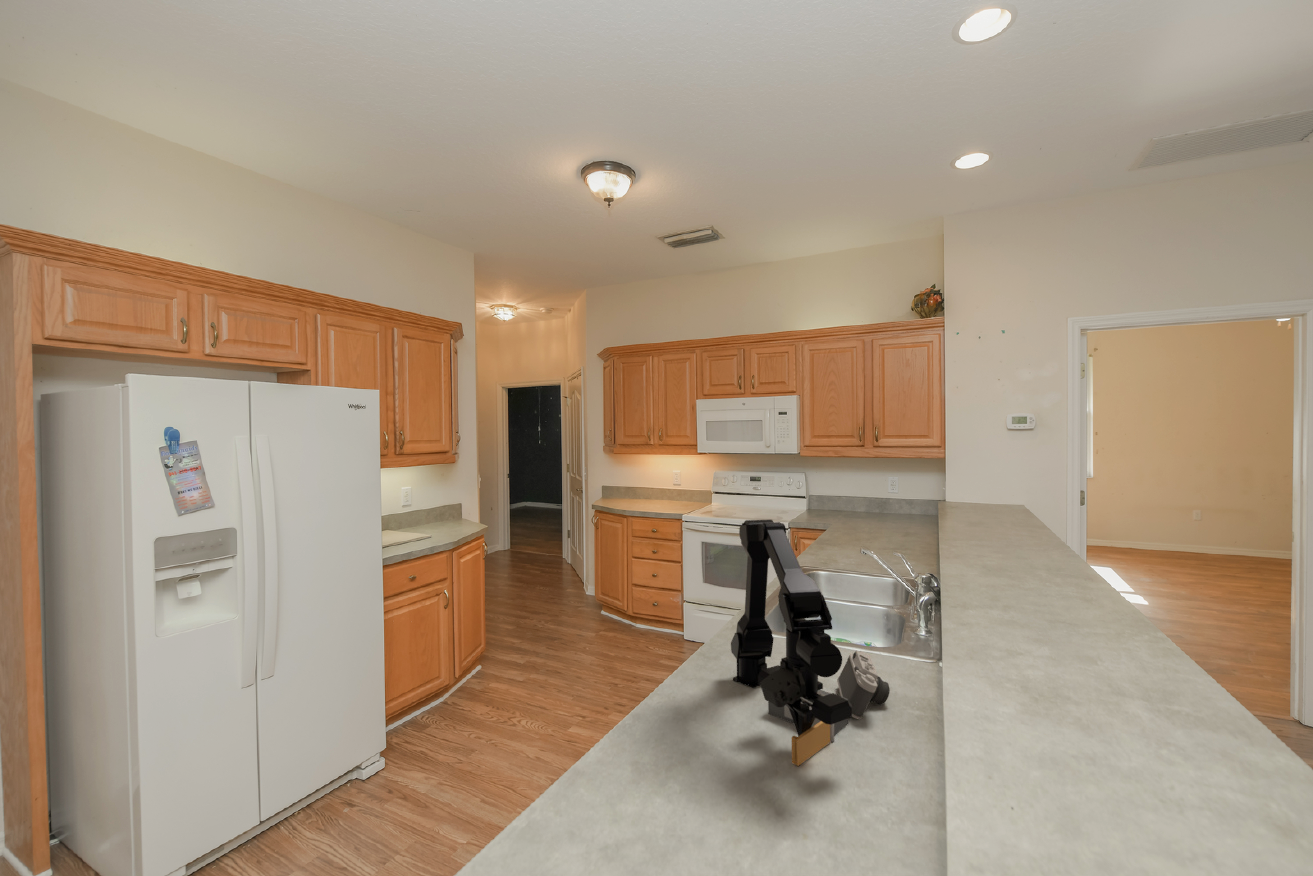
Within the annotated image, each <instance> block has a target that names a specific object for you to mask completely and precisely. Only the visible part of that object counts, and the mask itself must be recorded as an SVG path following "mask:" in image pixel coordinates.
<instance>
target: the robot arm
mask: <svg viewBox="0 0 1313 876" xmlns="http://www.w3.org/2000/svg"><path fill="white" fill-rule="evenodd" d="M738 531H739V533H738V534H739V538H740V541H741V542H740V543H741V546H742V548H743V549H744V551H745V553H746V555H747V559H746V561H747V563H746V578H745V579H746V580H745V597H744V598H745V600H744V601H745V602H744V603H745V604H744V614H743V615H742V616H741V617H740V619H739V620H738V621H737V623H736V632H734V634H733V636H732V639H731V642H730V651H731V654H732V655H733V657H735V659H736V676H734V677H732V681H734V682H737V683H739V684H741V685H744V686H747V687H750V688H753V689H756V688H758V687H759V686H760V688H761V691H762V694H763V698H764V700H765V701H766V702H768V701H769V702H771V703H773V704H774V705H775V706H776V707H783V706H785V705H786V706H787V707H788V708H789V710H790V713H791V716H792V718H793V721H794V724H793V725H794V727H795V731H796V734H797V737H798V736H800V735H801V734H803V733H804V732H806V731H807V730H808V729H810V728H811V726H812V724H813V722H814V720H815V718H817V719H818V720H820V721H822V722H824V723H825V724H830V725H831V724H834V723H837V722H840V721H842V720H845V719H848V720H849V719H851V718H853V717H852V705H851V703H850V702H849V701H848V700H846V699H844V698H842V697H841V695H838V694H836V693H833V692H832V693H831V692H830V693H831V694H828V695H824V694H822V693H820V692H818V690H823V689H824V683H823V682H821V681H819V677H822V678H829V677H833V676H834V675H836V674H837V673H838V672H839V671H840V669H841V667H842V665H843V664H842V663H843V655H842V653H841V651H840V649H839V647H837V645H835V644H834V643H833V642H832V640H831V639H832V637H831V635H830V634H828V633H826V632H825V631H826V630H827V631H829V630H833V625H832V624H833V623H832V620H833V618H832V615H831V612H830V610H829V607H828V605H827V604H828V603H827V601H826V599H825V596H824V594H823V593H822V592H821V590H820V588H819V586H818V585H817V583H816V581H815V580H814V579H813V578H811V577H810V576H808V575H807V574H806V573H804V570H802V568H801V565H800V563H799V560H798V558H797V556H796V554H795V552H794V550H793V547H792V545H791V542H790V541H789V538H788V536H787V529H786V526H785V524H784V523H782V522H781V521H780V522H779V521H777V522H776V521H773V519H746V520H744V522H742V523H741V525H740V526H739V530H738ZM769 560H770V561H771V563H772V564H771V565H772V567H773V569H774V572H775V575H776V577H777V579H778V582H779V585H780V588H779V592H778V595H777V596H778V606H779V610H780V613H781V615H782V618H783V622H784V623H785V657H782V658H781V659H780V662H779V664H778V665H774V666H771V667H768V663H766V662H767V661H766V659H767V658H771V657H772V653H773V645H774V636H773V631H772V629H771V627H770V625H769V624H768V621H767V620H766V607H767V606H766V604H767V589H768V573H769V572H768V570H769V568H768V567H769ZM819 617H820V619H819ZM814 618H815V619H814ZM817 618H818V619H817Z"/></svg>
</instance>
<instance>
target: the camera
mask: <svg viewBox="0 0 1313 876" xmlns="http://www.w3.org/2000/svg"><path fill="white" fill-rule="evenodd" d="M836 682H837V686H838V689H839V690H838V691H839V695H840V697H843V698H846V699H848V701H849V702H850V703H851V705H852V717H851V718H854V719H857V720H862V719H863V715H864V713H865V712H866V709H867V708H868V705H869V703H871V704H872V703H876V704H877V705H879V706H882V705H884V704H885V703H886V702H887V700H888V698H889V696H890V691H891V690H890V684H889V683H888V682H887V681H884V680H883V679H882V678H881V676H879V675H878V672H877V671H876V668H875V666H874V662H873V660H872V658H871V655H869V654H867V653H865V652H864V651H863V650H857V649H856V650H855V651H854V652H852V653H851V652H850V653H849V656H848V657H847V660H846V662H845V664H844V666H843V669H842V670H841V672H840V675H839V676H838V678H837V680H836Z"/></svg>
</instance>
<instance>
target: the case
mask: <svg viewBox="0 0 1313 876" xmlns="http://www.w3.org/2000/svg"><path fill="white" fill-rule="evenodd" d="M818 692H820V693H822V694H824V695H828V694H831V692H827V691H825V690H823V689H821V690H818ZM842 698H843V697H842ZM844 699H846V698H844ZM846 700H848V699H846ZM767 703H768V704H767V705H768V706H767V709H768V710H767V713H768V715H771V716H772V717H775V718H778V719H781V720H784V721H786V722H788V723H790V724H793V725H794V721H793V718H792V716H791V713H790V710H789V708H788V707H787V706H786V705H785V706H783V707H776V706H775V705H774V704H773V703H771V702H769V701H767ZM819 722H820V720H818V719H817V718H815V720H814V722H813V724H812V726H811V727H813V726H814V725H816V724H817V723H819ZM848 725H849V718H848V719H845V720H842V721H840V722H837V723H834V724H831V725H830V743H835V735H836V734H838V733H839V732H840V731H842V730H843V729H844V728H845V727H846V726H848Z"/></svg>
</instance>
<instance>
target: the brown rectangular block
mask: <svg viewBox="0 0 1313 876" xmlns="http://www.w3.org/2000/svg"><path fill="white" fill-rule="evenodd" d="M830 743H831V742H830V724H825V723H824V722H822V721H820V722H819V723H817V724H816V725H814V726H813V727H811V728H810V729H808V730H807V731H806V732H804V733H803V734H801V735H800V736H798V735H797V736H796V735H792V736H791V763H792V764H793V765H795V766H798V767H799V766H800V765H801V764H803V763H804V762H806V761H807V760H809V759H810V758H811V757H812V756H814V755H815V754H817V753H818V752H819V751H820V750H822V749H823V748H824V747H826V746H827V745H829V744H830Z"/></svg>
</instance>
